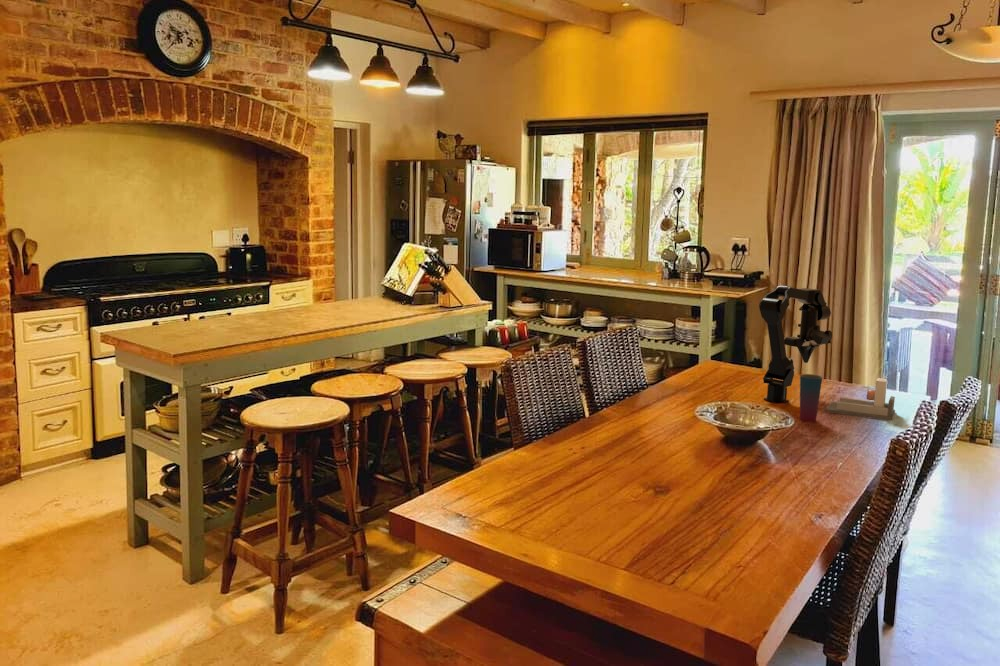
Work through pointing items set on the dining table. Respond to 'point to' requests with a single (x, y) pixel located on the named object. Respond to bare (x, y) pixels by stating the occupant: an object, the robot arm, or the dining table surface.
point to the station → (863, 408)
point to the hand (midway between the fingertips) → (805, 362)
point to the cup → (809, 396)
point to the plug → (878, 393)
